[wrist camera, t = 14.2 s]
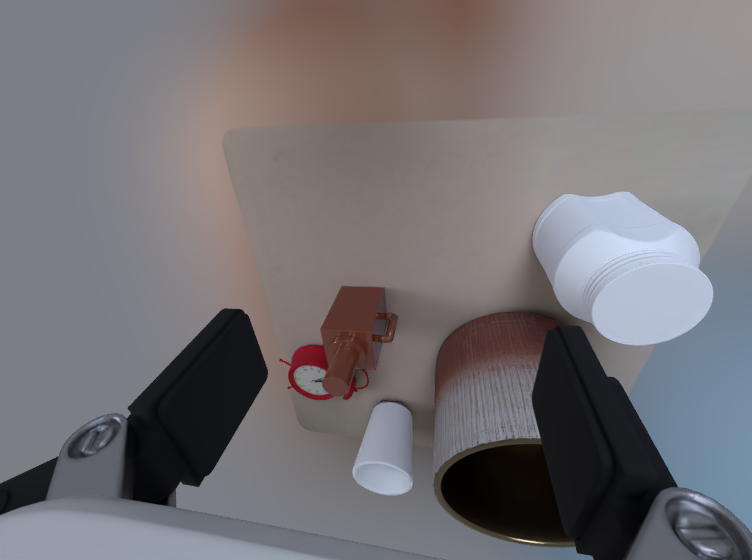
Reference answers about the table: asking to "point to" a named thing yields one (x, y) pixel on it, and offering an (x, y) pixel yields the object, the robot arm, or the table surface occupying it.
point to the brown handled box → (354, 335)
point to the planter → (494, 431)
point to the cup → (386, 451)
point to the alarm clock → (313, 373)
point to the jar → (622, 267)
